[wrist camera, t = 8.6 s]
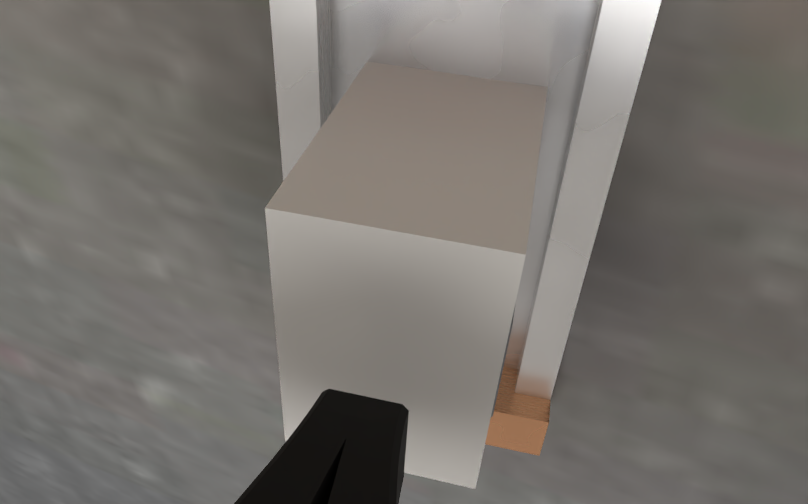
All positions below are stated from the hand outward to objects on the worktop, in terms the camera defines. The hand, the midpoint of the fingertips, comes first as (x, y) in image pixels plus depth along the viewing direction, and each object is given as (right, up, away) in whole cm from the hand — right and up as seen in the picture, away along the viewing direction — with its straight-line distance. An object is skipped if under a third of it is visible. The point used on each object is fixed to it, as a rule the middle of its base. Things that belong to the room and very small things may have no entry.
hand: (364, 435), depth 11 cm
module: (+2, +5, +5) cm, 7 cm away
